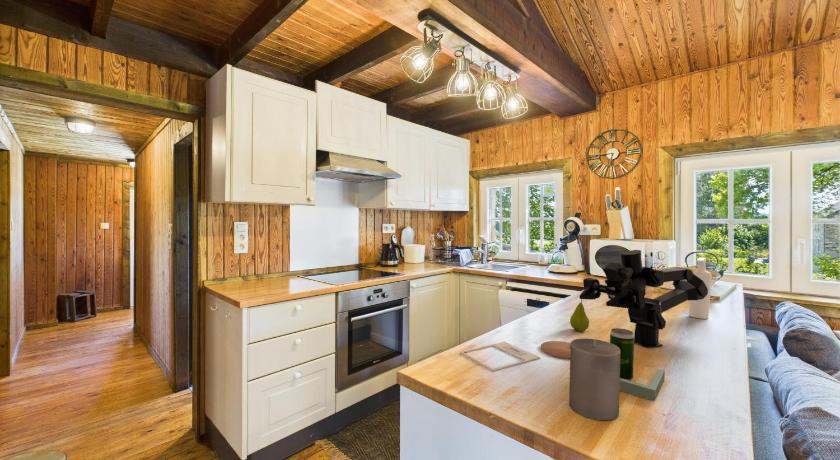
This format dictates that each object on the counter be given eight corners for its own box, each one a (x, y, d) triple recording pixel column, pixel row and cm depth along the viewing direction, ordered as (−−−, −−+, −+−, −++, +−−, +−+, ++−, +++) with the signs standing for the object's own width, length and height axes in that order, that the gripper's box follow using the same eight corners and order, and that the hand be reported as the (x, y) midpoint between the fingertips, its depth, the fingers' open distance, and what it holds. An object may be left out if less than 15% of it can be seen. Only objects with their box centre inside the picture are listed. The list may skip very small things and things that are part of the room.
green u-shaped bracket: (591, 361, 101) (592, 352, 101) (664, 380, 89) (664, 370, 89) (575, 377, 90) (575, 367, 90) (654, 401, 79) (655, 390, 79)
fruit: (570, 331, 127) (570, 298, 126) (569, 326, 133) (570, 295, 132) (589, 334, 124) (590, 300, 124) (588, 329, 130) (589, 297, 130)
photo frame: (540, 356, 102) (493, 369, 93) (540, 360, 102) (493, 373, 93) (504, 341, 115) (460, 351, 106) (504, 344, 115) (460, 354, 106)
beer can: (625, 372, 93) (626, 328, 93) (637, 382, 88) (639, 334, 87) (604, 372, 93) (606, 327, 93) (615, 381, 88) (617, 334, 88)
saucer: (567, 341, 116) (567, 339, 116) (596, 357, 104) (596, 354, 104) (532, 345, 113) (532, 342, 113) (558, 361, 100) (558, 358, 100)
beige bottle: (712, 315, 150) (715, 257, 149) (706, 321, 142) (708, 259, 141) (693, 312, 155) (695, 256, 154) (686, 317, 147) (688, 257, 146)
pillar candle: (576, 392, 82) (577, 329, 82) (623, 407, 76) (625, 339, 75) (562, 410, 75) (563, 341, 74) (613, 428, 69) (615, 352, 68)
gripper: (598, 257, 118) (564, 270, 112) (655, 264, 101) (618, 279, 95) (602, 289, 119) (569, 303, 113) (659, 301, 102) (623, 318, 96)
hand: (592, 300), depth 104 cm, fingers open, 9 cm apart
